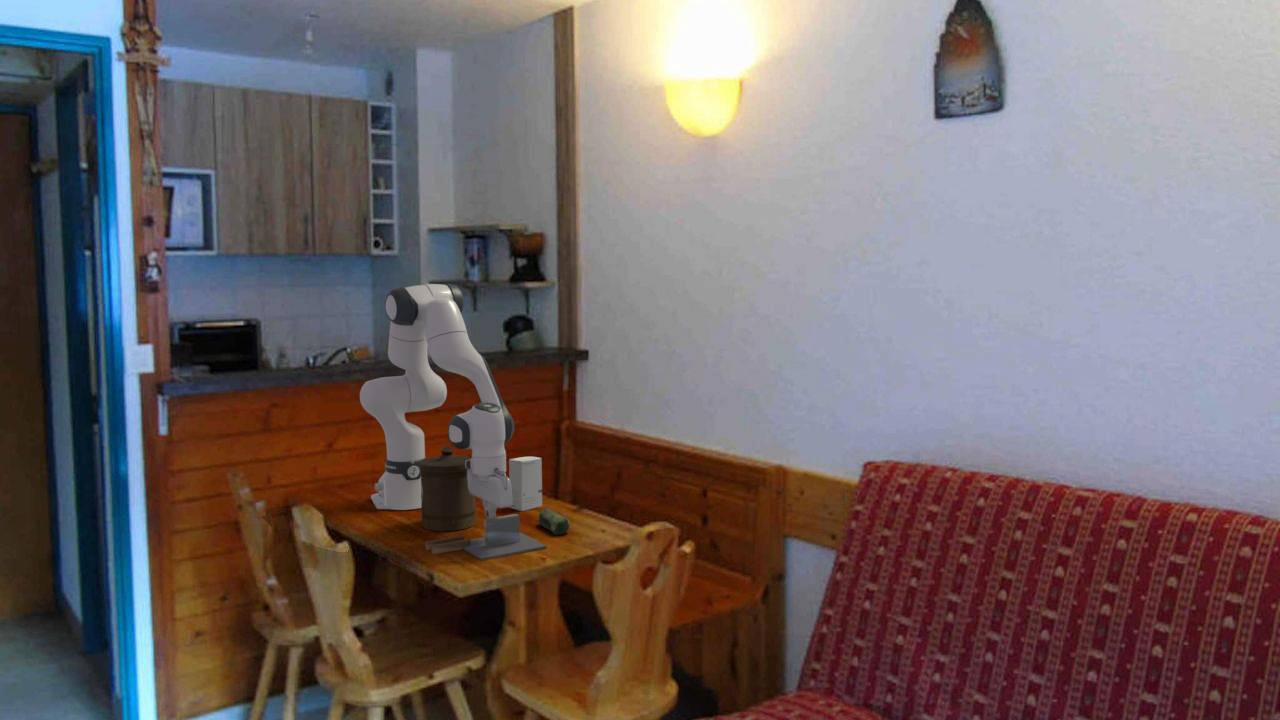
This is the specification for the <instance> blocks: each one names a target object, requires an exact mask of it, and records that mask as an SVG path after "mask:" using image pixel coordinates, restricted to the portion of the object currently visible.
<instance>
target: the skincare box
mask: <svg viewBox="0 0 1280 720" xmlns="http://www.w3.org/2000/svg"><path fill="white" fill-rule="evenodd" d="M542 459H543V458H542V457H537V456H532V455H529V456H522V457H517V458H516V457H514V458H509V460H508V467H509V468H508V472H509V477H508V478H509V479H510V482H511V489H512V505H511V506H510V507H509V509H514V510H516V511H519V512H525V511H528V510H531V509H536V508H541V507H543V474H542V473H543V471H542V470H543V469H542V466H543V462H542Z"/></svg>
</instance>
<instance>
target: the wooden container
mask: <svg viewBox="0 0 1280 720" xmlns="http://www.w3.org/2000/svg"><path fill="white" fill-rule="evenodd" d="M440 452H441V455H438V456H432V457H426V459H424V460H422V461H421V508H420V509H421V525H422V528H424V529H425V530H428V531H433V532H454V531H461V530H464V529H465V530H466V529H469V528H471V527H474V526H475V525H476V524H477V512H476V510H477V505H476V503H477V502H476V496H474V495H472V494H470V492H469V490H468V483H467V470H468V469H467V468H466V467H465V461H466V460H469V459H471V458H472V457H470V456H466V455H454V454H453V452H454V449H453V448H452V447H451V446H449V445H448V446H447V445H446V446H443V447H442V448H441V449H440Z"/></svg>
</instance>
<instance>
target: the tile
mask: <svg viewBox="0 0 1280 720" xmlns="http://www.w3.org/2000/svg"><path fill="white" fill-rule="evenodd" d="M483 521H484V523H483V524H484V525H483V527H484V528H483V529H484V537H485V546H486V547H488V548H489V547H494V546H500V545H505V544H510V543H516V542H520V532H521V531H520V529H521V528H520V524H521V523H520V515H519V514H517V513H512V514H508V515H507V514H506V515H500V516H496V517H494V518H488V517H487V518H484V519H483Z"/></svg>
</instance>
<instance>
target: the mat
mask: <svg viewBox="0 0 1280 720" xmlns="http://www.w3.org/2000/svg"><path fill="white" fill-rule="evenodd" d="M469 540H470V541H471V546H466V547H463V549H462V550H464V551H466V553H469V554H470V553H471V554H470V555H472V554H473V555H472V556H473V557H475V556H476V557H475V558H477V557H478V558H479V560H480V559H481V560H480V561H484V560H483V559H487V560H491V559H490V558H493V559H497V558H496V557H498V558H502V557H508V556H514V555H517V554H522V553H523V554H524V553H527V552H533V551H538V550H543V549H547V545H545V544H543V543H542V542H540V541H538V540H536V539H535V538H532V537H531V536H529V535H526V534H524V533H522V532H521V531H520V542H516V543H510V544H505V545H500V546H494V547H489V548H488V547H486V546H485V536H483V537H478V538H473V539H469ZM478 558H477V559H478Z"/></svg>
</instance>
